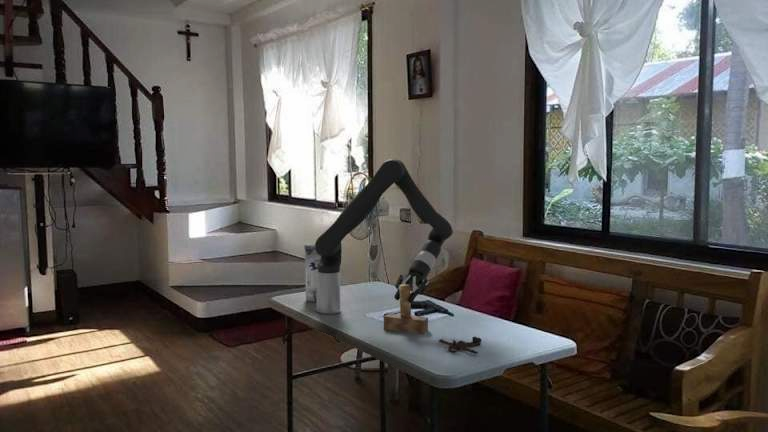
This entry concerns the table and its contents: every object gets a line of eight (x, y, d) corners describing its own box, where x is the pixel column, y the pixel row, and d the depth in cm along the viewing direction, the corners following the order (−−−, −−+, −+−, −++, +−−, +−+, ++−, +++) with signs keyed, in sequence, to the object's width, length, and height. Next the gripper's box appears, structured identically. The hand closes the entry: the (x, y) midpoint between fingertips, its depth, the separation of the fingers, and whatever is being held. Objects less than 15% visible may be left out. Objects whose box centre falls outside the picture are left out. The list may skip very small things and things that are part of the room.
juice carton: (302, 300, 281) (301, 242, 279) (319, 296, 289) (318, 239, 287) (316, 303, 276) (315, 243, 273) (332, 299, 283) (332, 241, 281)
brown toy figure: (497, 342, 207) (468, 346, 198) (496, 355, 208) (467, 359, 198) (459, 330, 221) (430, 334, 212) (458, 342, 222) (429, 346, 212)
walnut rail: (383, 329, 233) (383, 316, 233) (388, 326, 238) (388, 313, 238) (423, 333, 227) (423, 320, 227) (427, 330, 232) (427, 317, 231)
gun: (423, 322, 248) (455, 318, 254) (423, 315, 247) (455, 311, 254) (397, 307, 269) (427, 303, 275) (397, 301, 269) (427, 297, 275)
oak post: (398, 317, 231) (397, 286, 230) (402, 315, 235) (401, 284, 234) (408, 318, 230) (407, 286, 229) (412, 315, 233) (411, 284, 232)
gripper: (404, 257, 240) (383, 292, 233) (433, 261, 231) (412, 297, 223) (412, 268, 245) (393, 303, 237) (441, 273, 235) (421, 309, 228)
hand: (402, 300), depth 230 cm, fingers open, 6 cm apart
